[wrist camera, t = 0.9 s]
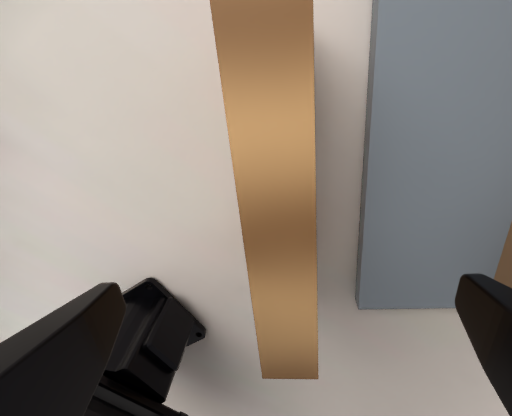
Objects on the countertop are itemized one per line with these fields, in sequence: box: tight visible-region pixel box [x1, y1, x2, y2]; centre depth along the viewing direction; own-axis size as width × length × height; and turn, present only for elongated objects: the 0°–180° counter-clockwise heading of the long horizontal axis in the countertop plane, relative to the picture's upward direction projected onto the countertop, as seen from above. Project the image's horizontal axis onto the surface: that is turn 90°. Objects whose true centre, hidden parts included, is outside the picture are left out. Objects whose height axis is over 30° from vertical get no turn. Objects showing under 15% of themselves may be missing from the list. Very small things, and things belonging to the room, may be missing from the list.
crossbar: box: [210, 0, 318, 379], centre depth 13 cm, size 14×2×8 cm, turn 6°
